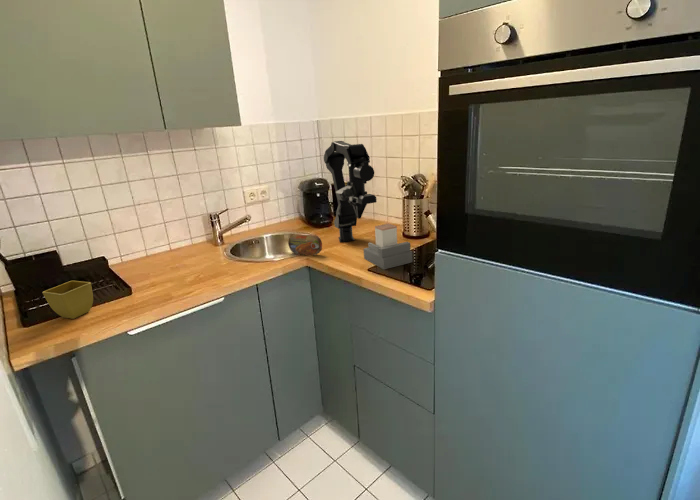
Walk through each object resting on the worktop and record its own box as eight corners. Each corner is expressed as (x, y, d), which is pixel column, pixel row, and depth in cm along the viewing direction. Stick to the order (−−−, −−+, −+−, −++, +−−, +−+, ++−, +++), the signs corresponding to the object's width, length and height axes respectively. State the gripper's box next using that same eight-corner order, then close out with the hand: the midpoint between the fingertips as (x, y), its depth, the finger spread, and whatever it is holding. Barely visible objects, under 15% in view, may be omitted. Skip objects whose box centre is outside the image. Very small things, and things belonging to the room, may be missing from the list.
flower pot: (50, 319, 110) (40, 291, 107) (80, 306, 117) (71, 279, 114) (71, 323, 106) (61, 294, 104) (100, 309, 114) (91, 282, 111)
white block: (376, 248, 138) (374, 226, 136) (389, 245, 141) (388, 223, 138) (383, 252, 134) (382, 229, 131) (397, 249, 137) (396, 226, 134)
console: (364, 258, 142) (363, 240, 140) (390, 252, 147) (390, 235, 145) (384, 269, 130) (383, 250, 128) (412, 262, 135) (412, 243, 133)
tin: (289, 253, 154) (286, 233, 151) (293, 251, 157) (291, 231, 154) (320, 257, 147) (318, 236, 145) (324, 254, 150) (322, 234, 147)
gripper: (327, 178, 148) (330, 217, 153) (349, 183, 132) (352, 226, 137) (352, 175, 153) (354, 213, 157) (376, 179, 137) (378, 221, 141)
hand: (359, 218), depth 148 cm, fingers closed
